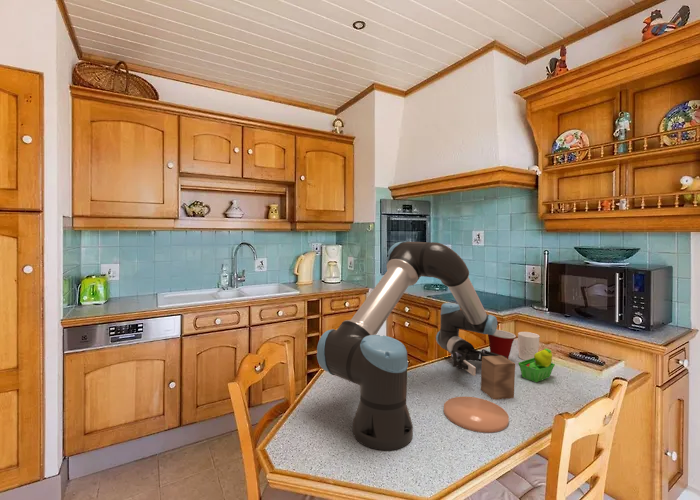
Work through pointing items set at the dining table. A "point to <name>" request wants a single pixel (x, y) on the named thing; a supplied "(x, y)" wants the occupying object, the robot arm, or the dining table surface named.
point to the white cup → (527, 345)
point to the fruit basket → (537, 366)
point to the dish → (476, 414)
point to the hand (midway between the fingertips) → (493, 370)
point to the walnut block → (497, 377)
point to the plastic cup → (501, 342)
